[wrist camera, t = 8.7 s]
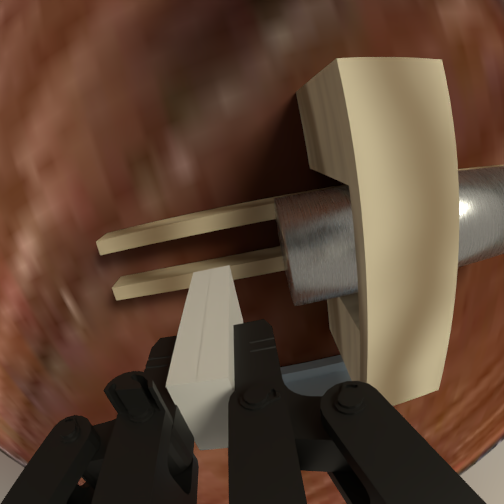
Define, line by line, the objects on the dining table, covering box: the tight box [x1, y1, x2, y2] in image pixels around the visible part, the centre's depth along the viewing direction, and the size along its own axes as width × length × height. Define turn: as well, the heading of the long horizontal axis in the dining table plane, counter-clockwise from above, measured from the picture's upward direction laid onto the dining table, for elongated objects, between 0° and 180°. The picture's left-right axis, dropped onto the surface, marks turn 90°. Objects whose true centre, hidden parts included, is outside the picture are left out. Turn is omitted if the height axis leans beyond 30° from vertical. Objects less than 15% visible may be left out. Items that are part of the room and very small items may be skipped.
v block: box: [280, 355, 352, 396], centre depth 26 cm, size 14×10×4 cm
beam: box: [96, 57, 504, 406], centre depth 18 cm, size 33×18×10 cm, turn 101°
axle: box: [274, 166, 504, 306], centre depth 18 cm, size 19×6×6 cm, turn 101°
